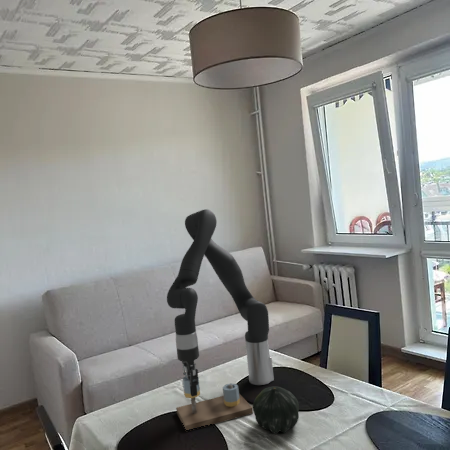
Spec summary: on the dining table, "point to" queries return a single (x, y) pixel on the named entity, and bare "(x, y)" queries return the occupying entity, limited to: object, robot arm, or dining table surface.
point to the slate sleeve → (187, 388)
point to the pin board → (211, 411)
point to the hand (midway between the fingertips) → (192, 391)
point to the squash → (276, 409)
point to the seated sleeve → (231, 395)
